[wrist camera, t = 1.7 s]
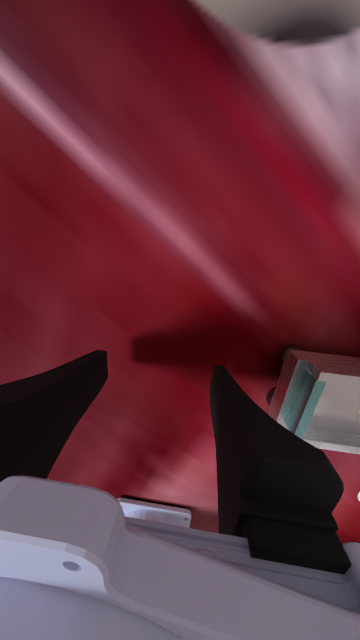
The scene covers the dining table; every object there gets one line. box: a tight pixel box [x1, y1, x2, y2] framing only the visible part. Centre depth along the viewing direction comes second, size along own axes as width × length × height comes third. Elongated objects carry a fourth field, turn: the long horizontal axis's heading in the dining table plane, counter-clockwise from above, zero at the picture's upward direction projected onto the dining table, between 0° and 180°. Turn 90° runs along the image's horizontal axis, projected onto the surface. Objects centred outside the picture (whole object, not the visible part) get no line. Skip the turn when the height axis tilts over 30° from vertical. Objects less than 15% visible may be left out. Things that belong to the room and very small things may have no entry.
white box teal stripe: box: [266, 345, 360, 454], centre depth 11 cm, size 5×7×4 cm
